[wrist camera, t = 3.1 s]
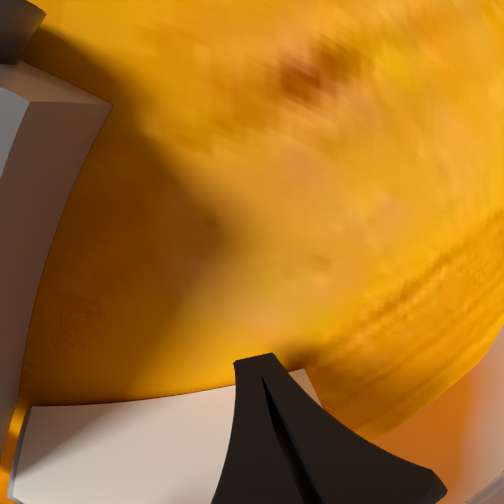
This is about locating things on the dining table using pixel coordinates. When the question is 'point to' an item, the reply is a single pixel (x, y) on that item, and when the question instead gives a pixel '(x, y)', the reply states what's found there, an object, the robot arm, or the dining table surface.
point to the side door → (127, 450)
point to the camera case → (32, 180)
